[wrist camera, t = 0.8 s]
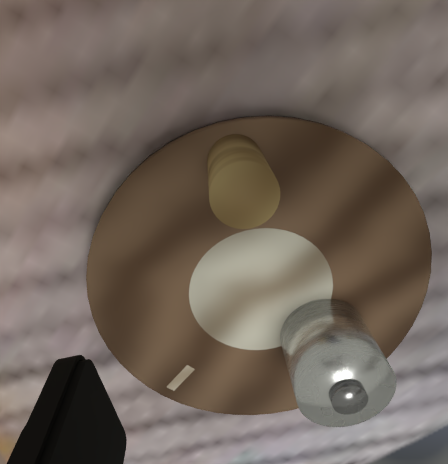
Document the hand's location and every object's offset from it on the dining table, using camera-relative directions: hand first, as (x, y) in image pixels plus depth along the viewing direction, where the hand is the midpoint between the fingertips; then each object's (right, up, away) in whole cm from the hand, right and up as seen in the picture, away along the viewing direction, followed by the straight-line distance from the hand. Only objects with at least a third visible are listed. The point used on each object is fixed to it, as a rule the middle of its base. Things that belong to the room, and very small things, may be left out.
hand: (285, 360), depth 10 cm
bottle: (+6, -5, +23) cm, 24 cm away
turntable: (+1, -1, +23) cm, 23 cm away
